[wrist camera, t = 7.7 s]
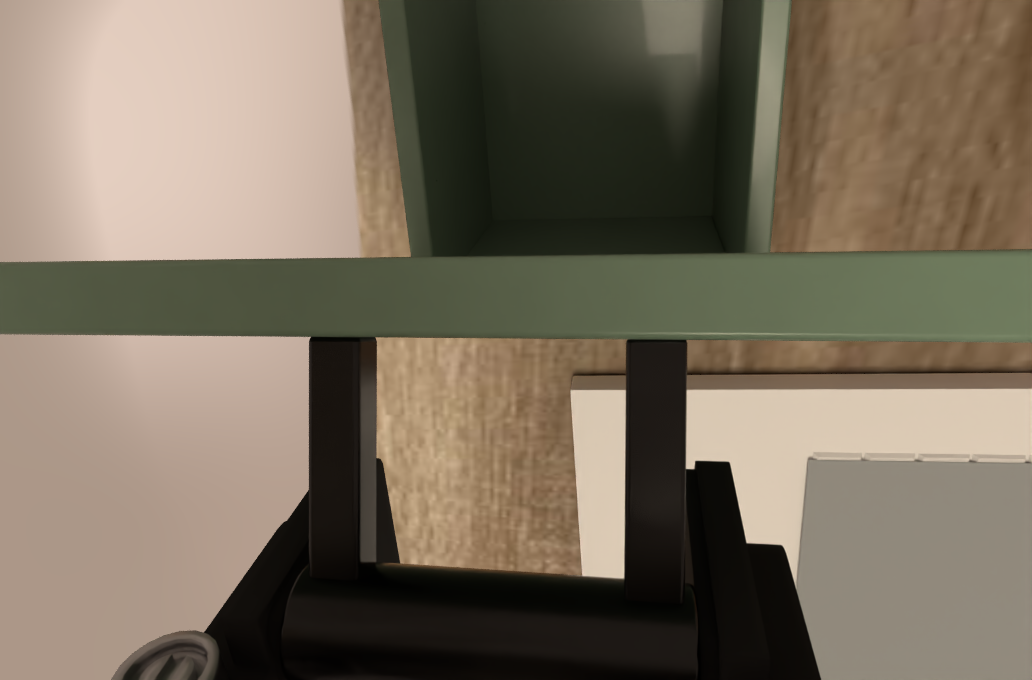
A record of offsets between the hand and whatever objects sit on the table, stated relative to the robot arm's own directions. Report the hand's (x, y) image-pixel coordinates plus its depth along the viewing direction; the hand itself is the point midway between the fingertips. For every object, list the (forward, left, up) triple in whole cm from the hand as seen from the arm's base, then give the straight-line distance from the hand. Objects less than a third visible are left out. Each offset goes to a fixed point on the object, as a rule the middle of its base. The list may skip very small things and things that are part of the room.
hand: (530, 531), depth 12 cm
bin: (-7, 0, -23) cm, 24 cm away
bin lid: (-3, 0, -4) cm, 5 cm away
